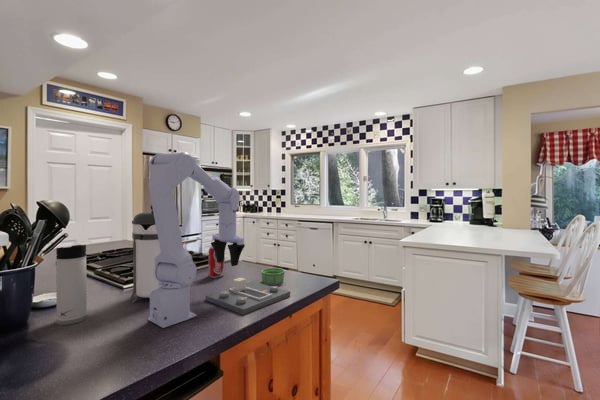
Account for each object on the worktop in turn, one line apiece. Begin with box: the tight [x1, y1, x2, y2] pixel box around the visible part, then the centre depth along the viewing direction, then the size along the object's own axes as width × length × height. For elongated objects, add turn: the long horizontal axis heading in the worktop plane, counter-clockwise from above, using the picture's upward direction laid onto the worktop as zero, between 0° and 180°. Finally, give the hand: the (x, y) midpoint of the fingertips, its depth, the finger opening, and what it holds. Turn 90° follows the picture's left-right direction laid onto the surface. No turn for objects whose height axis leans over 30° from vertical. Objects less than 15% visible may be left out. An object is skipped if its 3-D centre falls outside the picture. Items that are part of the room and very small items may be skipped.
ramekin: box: [260, 267, 286, 286], centre depth 115 cm, size 9×9×4 cm
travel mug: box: [55, 244, 88, 326], centre depth 78 cm, size 6×7×20 cm
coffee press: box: [128, 204, 161, 304], centre depth 98 cm, size 17×16×30 cm
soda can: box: [207, 245, 225, 279], centre depth 122 cm, size 6×6×12 cm
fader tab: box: [232, 277, 247, 291], centre depth 99 cm, size 3×2×4 cm
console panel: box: [204, 281, 291, 316], centre depth 97 cm, size 20×18×3 cm
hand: (227, 263), depth 102 cm, fingers open, 7 cm apart
